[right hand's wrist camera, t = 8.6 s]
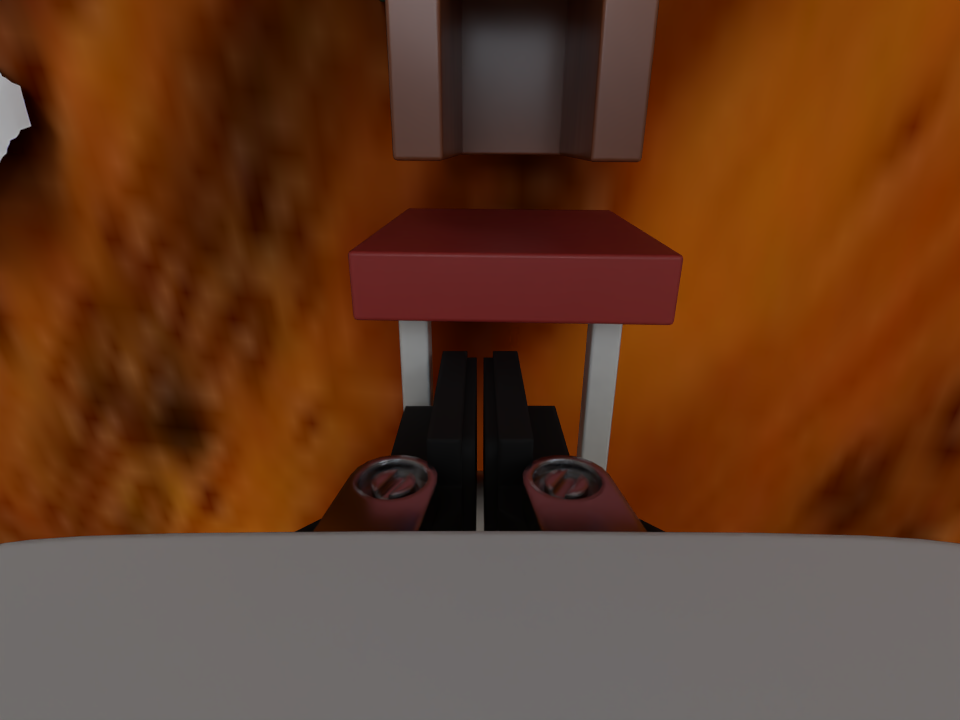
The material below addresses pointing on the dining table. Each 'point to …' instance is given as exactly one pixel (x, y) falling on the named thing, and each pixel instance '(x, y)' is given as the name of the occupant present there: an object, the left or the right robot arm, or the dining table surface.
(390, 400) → the dining table surface
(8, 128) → the seashell
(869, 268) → the dining table surface
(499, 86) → the drawer
